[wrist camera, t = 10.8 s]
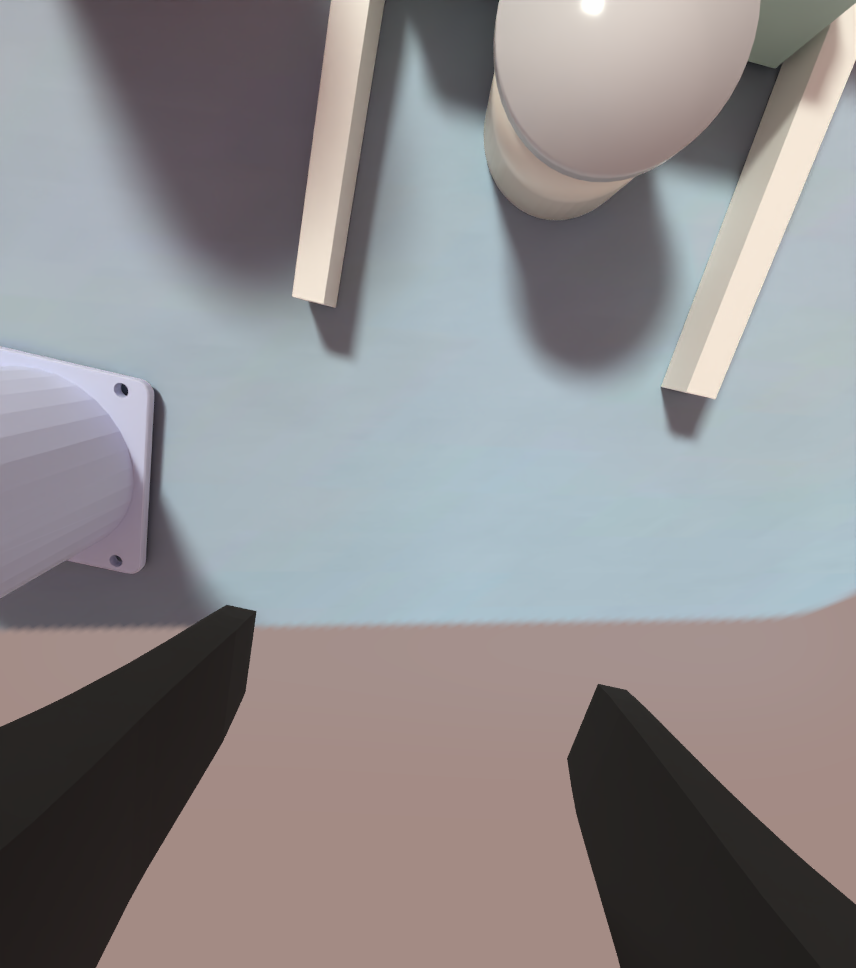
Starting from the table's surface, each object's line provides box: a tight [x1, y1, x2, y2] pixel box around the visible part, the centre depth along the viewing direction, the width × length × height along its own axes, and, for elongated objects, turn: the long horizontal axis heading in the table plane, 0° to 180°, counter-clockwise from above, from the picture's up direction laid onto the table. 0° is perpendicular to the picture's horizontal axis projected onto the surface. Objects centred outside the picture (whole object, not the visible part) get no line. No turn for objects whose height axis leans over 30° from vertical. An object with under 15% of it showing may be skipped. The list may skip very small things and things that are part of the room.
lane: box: [292, 0, 856, 399], centre depth 13 cm, size 14×14×4 cm
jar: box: [484, 0, 761, 220], centre depth 12 cm, size 5×5×5 cm
